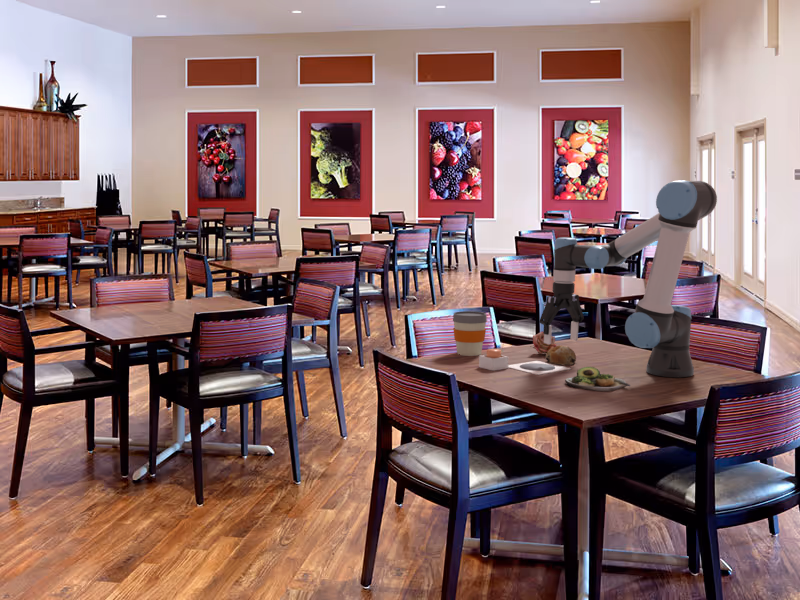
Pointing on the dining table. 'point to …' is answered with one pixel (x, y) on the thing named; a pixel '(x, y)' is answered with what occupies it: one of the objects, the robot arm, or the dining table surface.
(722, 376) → the dining table surface
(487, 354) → the button
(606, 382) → the salad plate
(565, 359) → the bread roll
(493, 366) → the button housing
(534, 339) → the flower
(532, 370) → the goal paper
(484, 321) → the reusable coffee cup
